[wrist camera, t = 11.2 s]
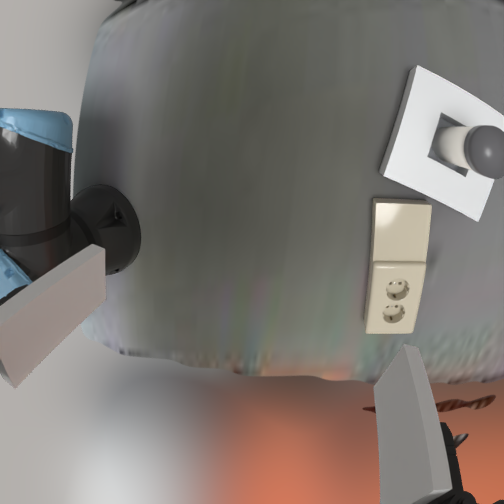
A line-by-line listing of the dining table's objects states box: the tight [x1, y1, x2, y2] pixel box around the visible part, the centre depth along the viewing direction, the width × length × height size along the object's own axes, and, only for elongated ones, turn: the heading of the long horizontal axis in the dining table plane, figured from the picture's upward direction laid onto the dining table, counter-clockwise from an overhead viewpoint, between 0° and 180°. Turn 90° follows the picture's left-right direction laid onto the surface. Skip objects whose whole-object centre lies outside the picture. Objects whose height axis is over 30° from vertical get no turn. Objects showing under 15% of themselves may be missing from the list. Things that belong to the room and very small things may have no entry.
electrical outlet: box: [364, 198, 432, 334], centre depth 36 cm, size 7×4×18 cm
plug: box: [432, 125, 504, 179], centre depth 24 cm, size 5×5×12 cm
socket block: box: [379, 65, 504, 222], centre depth 28 cm, size 14×14×4 cm
